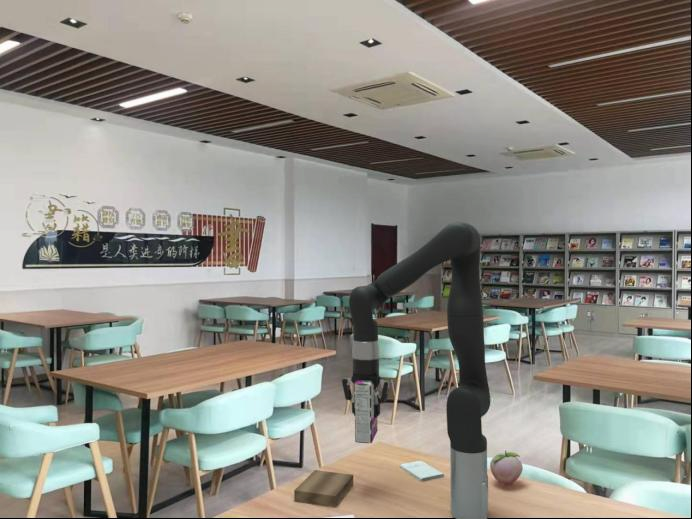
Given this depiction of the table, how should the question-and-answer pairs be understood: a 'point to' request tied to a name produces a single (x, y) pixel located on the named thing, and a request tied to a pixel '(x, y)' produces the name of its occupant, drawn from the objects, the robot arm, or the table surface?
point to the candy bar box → (364, 412)
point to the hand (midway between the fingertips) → (366, 415)
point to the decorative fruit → (506, 467)
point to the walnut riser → (323, 488)
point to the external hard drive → (421, 471)
